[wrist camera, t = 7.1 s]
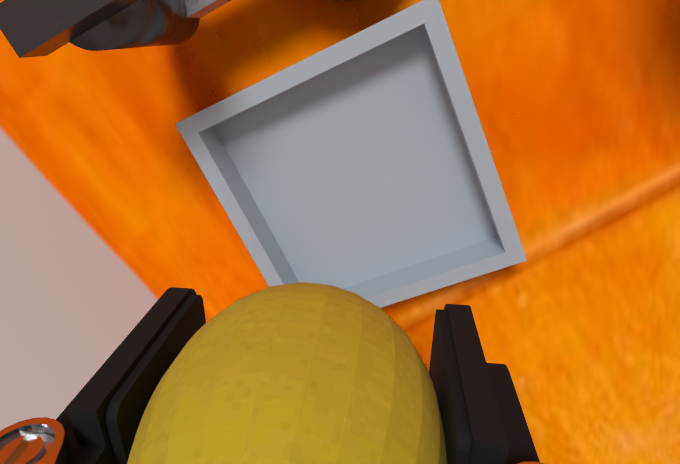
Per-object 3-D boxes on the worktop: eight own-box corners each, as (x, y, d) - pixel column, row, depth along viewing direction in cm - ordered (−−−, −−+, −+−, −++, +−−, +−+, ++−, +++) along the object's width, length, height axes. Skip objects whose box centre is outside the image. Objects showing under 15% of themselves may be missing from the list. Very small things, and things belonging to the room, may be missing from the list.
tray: (514, 238, 24) (527, 260, 22) (304, 309, 28) (296, 334, 25) (431, -3, 20) (436, -7, 18) (196, 114, 23) (174, 123, 21)
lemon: (247, 401, 14) (86, 818, 6) (201, 233, 12) (-117, 582, 4) (433, 396, 13) (489, 867, 6) (422, 216, 11) (489, 606, 4)
